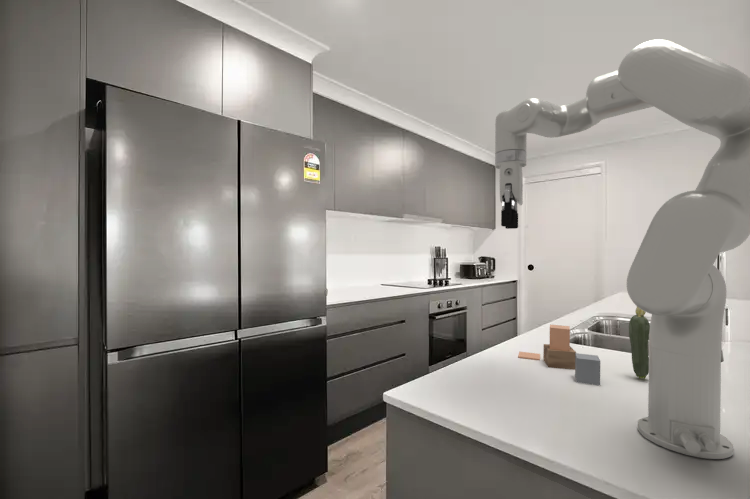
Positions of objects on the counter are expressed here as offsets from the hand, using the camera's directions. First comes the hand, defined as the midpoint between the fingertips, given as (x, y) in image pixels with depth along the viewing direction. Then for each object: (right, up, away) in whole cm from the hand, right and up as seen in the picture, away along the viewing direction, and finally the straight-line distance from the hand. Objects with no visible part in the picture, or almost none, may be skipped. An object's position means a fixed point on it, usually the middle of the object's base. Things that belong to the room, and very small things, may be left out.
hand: (510, 227), depth 94 cm
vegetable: (+32, -39, -1) cm, 51 cm away
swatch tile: (+13, -38, +18) cm, 44 cm away
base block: (+18, -39, +10) cm, 44 cm away
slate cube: (+19, -39, -2) cm, 43 cm away
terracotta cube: (+18, -34, +10) cm, 39 cm away
